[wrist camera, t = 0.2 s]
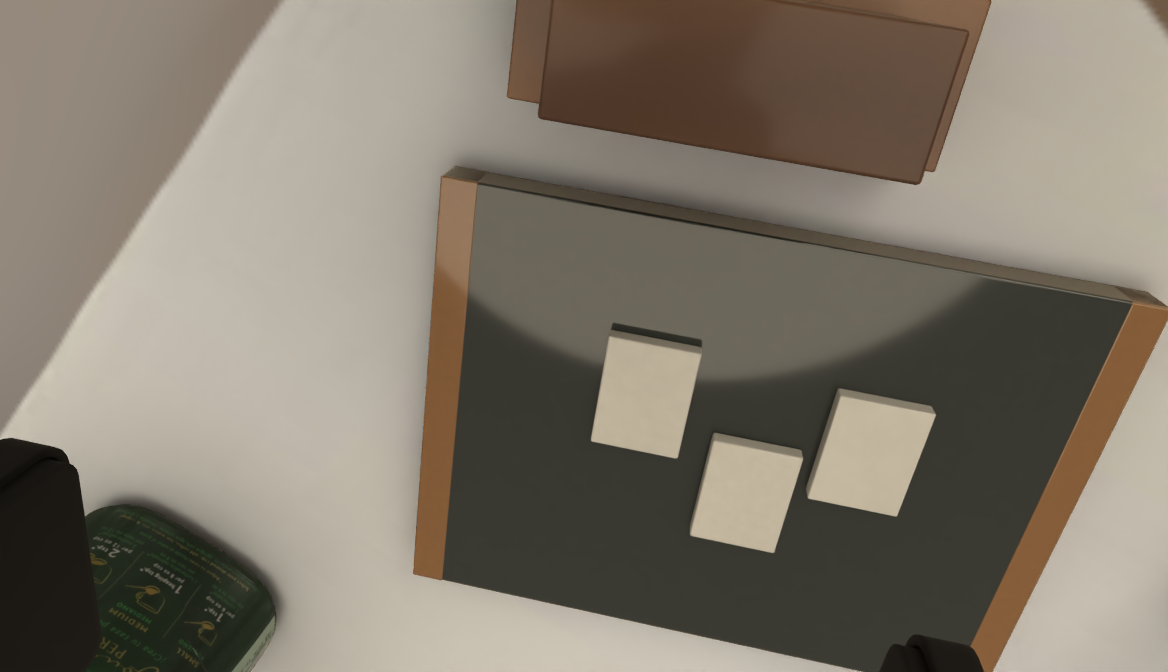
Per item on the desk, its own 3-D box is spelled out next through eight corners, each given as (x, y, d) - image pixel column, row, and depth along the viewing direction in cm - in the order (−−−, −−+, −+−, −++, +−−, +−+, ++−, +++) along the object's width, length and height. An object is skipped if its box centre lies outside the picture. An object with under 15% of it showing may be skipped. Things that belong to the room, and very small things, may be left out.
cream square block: (837, 387, 26) (840, 395, 25) (931, 405, 26) (937, 414, 25) (805, 488, 27) (807, 498, 27) (893, 506, 27) (897, 517, 27)
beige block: (713, 431, 27) (713, 440, 27) (801, 449, 27) (803, 458, 26) (689, 525, 29) (689, 536, 28) (772, 543, 29) (774, 553, 28)
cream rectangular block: (610, 328, 26) (608, 336, 26) (702, 346, 26) (701, 354, 25) (592, 432, 28) (590, 441, 27) (678, 450, 28) (677, 459, 27)
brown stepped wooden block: (541, -70, 23) (458, -93, 15) (965, -3, 22) (1097, 7, 15) (523, 87, 25) (442, 136, 17) (914, 155, 24) (1008, 237, 16)
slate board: (454, 165, 26) (440, 175, 25) (1148, 291, 25) (1174, 309, 23) (424, 549, 33) (412, 574, 32) (968, 667, 31) (980, 698, 30)
